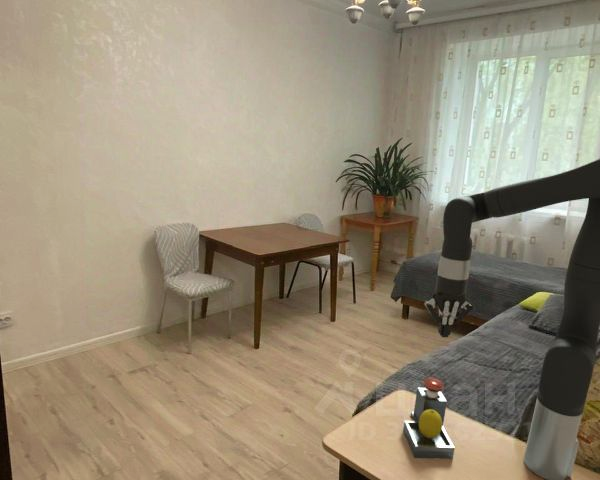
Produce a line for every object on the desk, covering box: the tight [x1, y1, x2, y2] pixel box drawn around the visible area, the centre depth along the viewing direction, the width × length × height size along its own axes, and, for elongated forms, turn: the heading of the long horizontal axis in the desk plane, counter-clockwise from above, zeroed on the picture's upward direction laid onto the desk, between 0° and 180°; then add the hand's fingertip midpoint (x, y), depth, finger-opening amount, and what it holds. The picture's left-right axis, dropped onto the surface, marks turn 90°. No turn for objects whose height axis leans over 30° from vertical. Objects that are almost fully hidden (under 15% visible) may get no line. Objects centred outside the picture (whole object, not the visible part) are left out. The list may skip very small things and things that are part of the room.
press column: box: [410, 386, 448, 431], centre depth 115 cm, size 7×7×9 cm
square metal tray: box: [402, 420, 456, 460], centre depth 107 cm, size 10×10×3 cm
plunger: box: [423, 376, 444, 398], centre depth 114 cm, size 5×5×10 cm
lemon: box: [419, 409, 442, 438], centre depth 106 cm, size 6×6×8 cm
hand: (443, 336), depth 112 cm, fingers closed
